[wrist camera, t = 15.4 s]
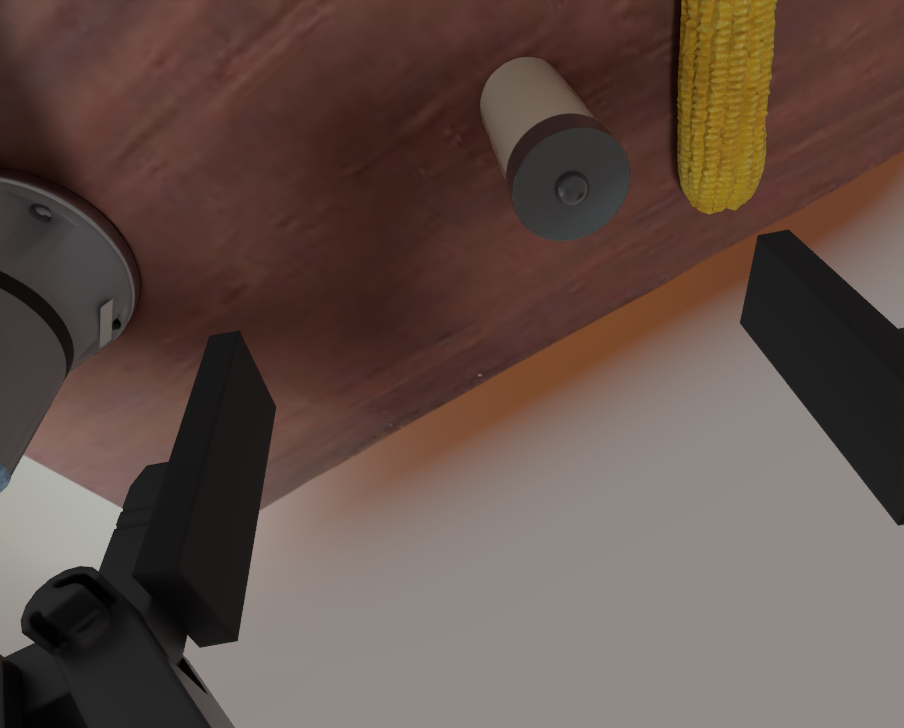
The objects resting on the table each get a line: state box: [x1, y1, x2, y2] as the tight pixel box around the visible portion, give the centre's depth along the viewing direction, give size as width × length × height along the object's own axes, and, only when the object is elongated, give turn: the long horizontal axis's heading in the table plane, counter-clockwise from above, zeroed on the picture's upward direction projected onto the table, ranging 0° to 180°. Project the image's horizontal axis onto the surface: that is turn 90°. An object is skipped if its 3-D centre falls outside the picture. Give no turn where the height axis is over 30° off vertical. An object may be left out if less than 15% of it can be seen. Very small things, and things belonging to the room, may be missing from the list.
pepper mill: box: [480, 57, 630, 241], centre depth 36 cm, size 6×6×15 cm
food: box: [677, 0, 777, 214], centre depth 38 cm, size 21×6×6 cm, turn 14°
